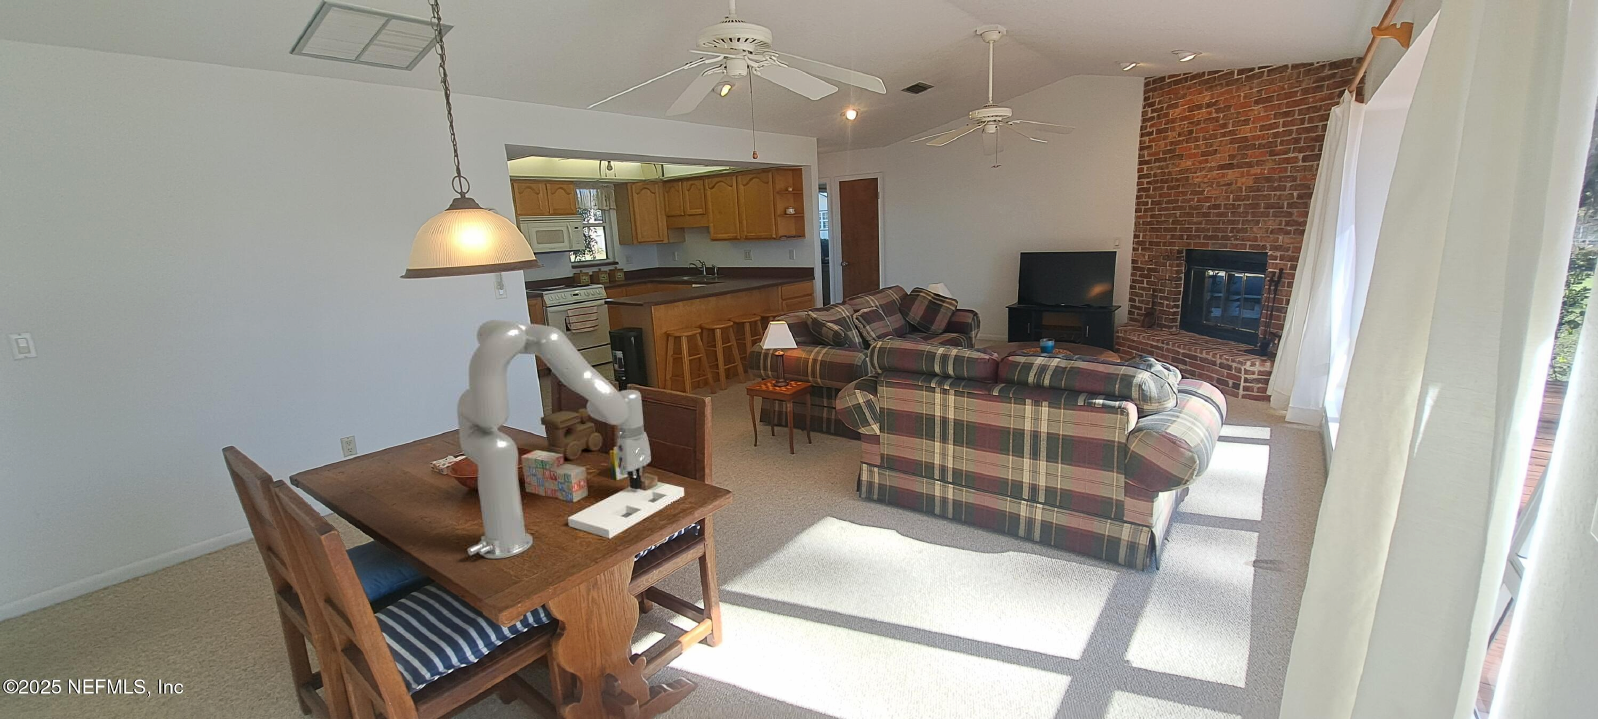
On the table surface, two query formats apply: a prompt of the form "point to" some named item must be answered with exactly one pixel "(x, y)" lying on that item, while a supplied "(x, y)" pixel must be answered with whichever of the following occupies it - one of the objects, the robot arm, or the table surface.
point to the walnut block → (648, 481)
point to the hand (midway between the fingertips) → (636, 487)
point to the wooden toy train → (570, 433)
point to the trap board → (624, 509)
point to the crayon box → (615, 465)
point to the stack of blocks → (553, 476)
